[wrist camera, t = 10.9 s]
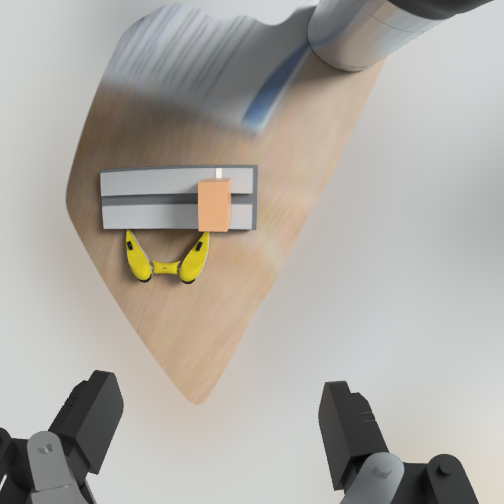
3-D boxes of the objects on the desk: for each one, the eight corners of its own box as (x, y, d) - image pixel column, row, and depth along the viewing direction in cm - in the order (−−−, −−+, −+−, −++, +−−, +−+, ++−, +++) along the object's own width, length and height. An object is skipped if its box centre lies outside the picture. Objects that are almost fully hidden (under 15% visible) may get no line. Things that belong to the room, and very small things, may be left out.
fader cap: (207, 218, 33) (198, 231, 27) (207, 177, 32) (197, 182, 26) (231, 218, 33) (227, 231, 27) (231, 177, 32) (227, 182, 26)
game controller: (132, 281, 36) (122, 282, 33) (134, 231, 37) (124, 226, 33) (210, 284, 36) (206, 284, 33) (211, 230, 37) (207, 226, 33)
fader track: (109, 226, 35) (100, 231, 33) (105, 169, 33) (96, 171, 30) (255, 226, 35) (256, 232, 33) (257, 165, 33) (257, 165, 31)
